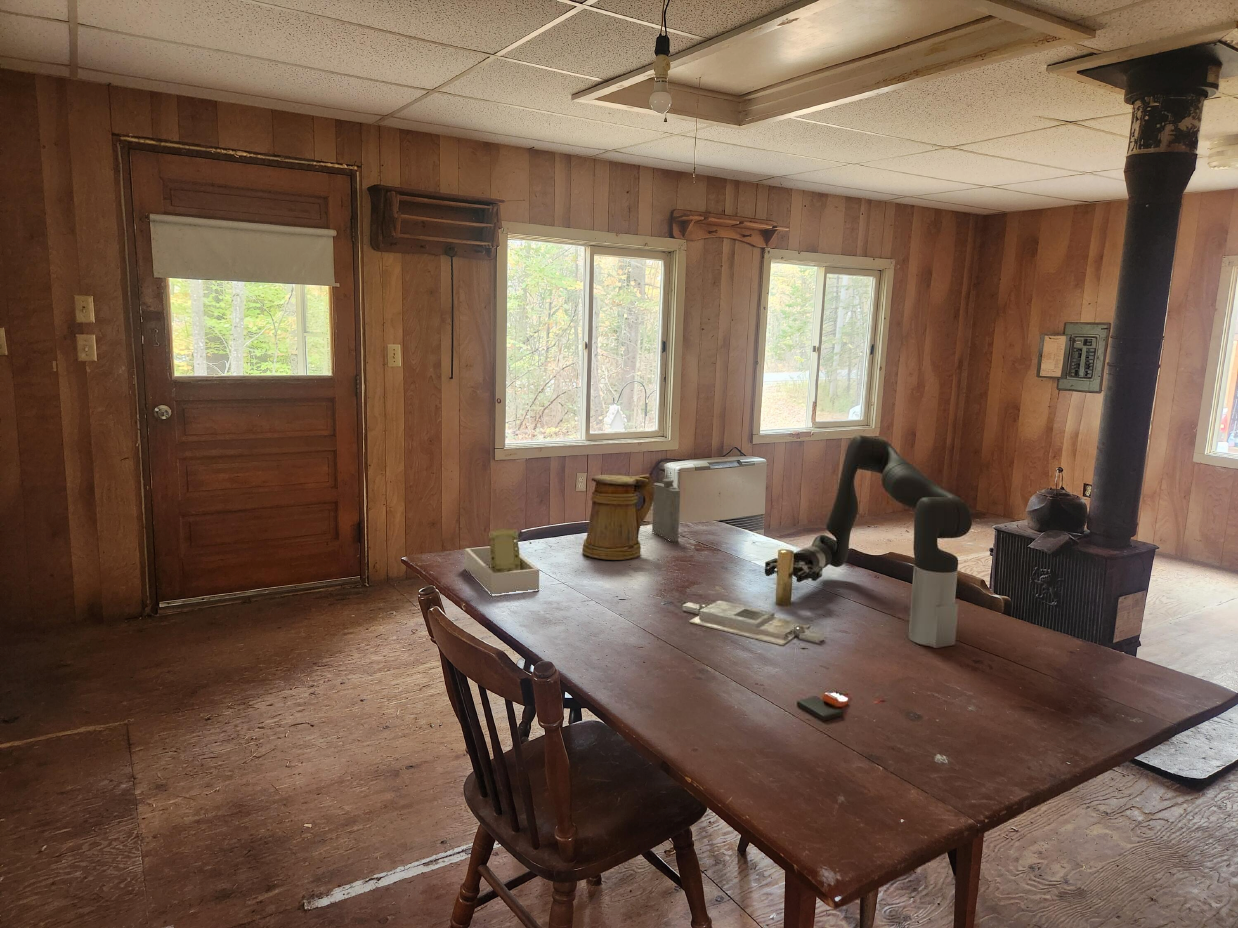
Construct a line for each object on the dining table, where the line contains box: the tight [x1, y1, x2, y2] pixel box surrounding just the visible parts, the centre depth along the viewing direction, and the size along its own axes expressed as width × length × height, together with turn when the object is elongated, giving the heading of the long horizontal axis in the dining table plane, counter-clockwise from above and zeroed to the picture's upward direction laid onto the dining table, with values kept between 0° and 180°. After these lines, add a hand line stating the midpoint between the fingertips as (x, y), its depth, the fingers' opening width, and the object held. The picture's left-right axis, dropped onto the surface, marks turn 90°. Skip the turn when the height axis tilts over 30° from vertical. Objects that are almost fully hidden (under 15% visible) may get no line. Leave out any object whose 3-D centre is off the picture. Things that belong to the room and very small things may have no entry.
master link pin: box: [774, 548, 795, 607], centre depth 208 cm, size 4×4×14 cm
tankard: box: [581, 473, 654, 561], centre depth 254 cm, size 18×24×25 cm
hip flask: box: [651, 478, 681, 542], centre depth 278 cm, size 16×4×20 cm, turn 24°
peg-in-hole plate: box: [682, 600, 825, 647], centre depth 192 cm, size 36×16×2 cm, turn 55°
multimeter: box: [796, 690, 889, 723], centre depth 152 cm, size 18×12×3 cm, turn 115°
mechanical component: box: [488, 528, 521, 573], centre depth 222 cm, size 8×17×20 cm, turn 8°
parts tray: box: [464, 546, 540, 595], centre depth 224 cm, size 28×13×6 cm, turn 25°
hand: (782, 575), depth 206 cm, fingers open, 8 cm apart
